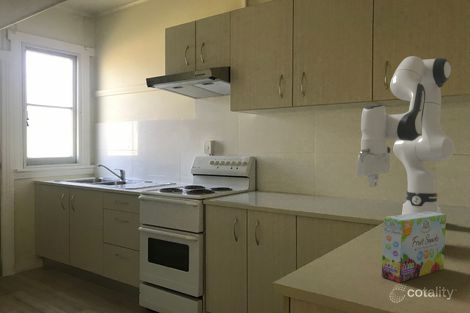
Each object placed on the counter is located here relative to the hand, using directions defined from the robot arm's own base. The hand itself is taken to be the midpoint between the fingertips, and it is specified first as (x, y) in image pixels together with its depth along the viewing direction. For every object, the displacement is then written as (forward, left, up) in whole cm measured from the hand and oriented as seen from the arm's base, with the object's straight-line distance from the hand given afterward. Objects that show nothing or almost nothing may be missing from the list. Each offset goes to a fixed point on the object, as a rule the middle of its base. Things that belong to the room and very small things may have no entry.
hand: (373, 186), depth 140 cm
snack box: (+34, +26, -19) cm, 47 cm away
